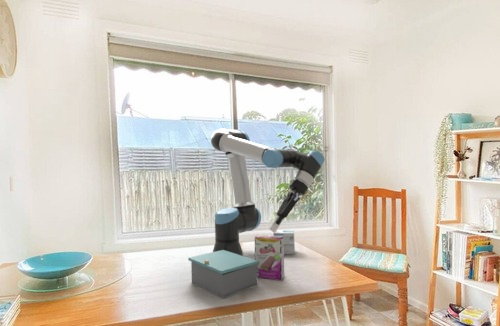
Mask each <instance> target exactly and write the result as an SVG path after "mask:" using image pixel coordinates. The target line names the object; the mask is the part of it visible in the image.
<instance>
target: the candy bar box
mask: <svg viewBox="0 0 500 326" xmlns="http://www.w3.org/2000/svg"><path fill="white" fill-rule="evenodd" d="M254 260H257V261H258V264H257V279H258V278H259V279H267V280H274V281H275V280H276V281H283V279H284V277H285V254H284V237H283V236H273V235H270V234H257V235H256V236H254Z"/></svg>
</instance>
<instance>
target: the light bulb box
mask: <svg viewBox="0 0 500 326" xmlns="http://www.w3.org/2000/svg"><path fill="white" fill-rule="evenodd" d="M294 231H295V230H294V229H292V230H290V229H289V230H287V229H286V230H285V229H284V230H282V229H279V230H278V229H277V230H276V232H275V233H274V232H273V234H272V236H283V237H284V255H295V251H296V250H295V244H296V243H295V232H294Z"/></svg>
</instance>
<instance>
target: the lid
mask: <svg viewBox="0 0 500 326" xmlns="http://www.w3.org/2000/svg"><path fill="white" fill-rule="evenodd" d="M187 258H188V261H189V262H190V263H191V262H194V263H196V264H199V265H201V266H203V267H206V268H208V269H211V270H213V271H215V272H218V273H220V274H224V273H227V272H231V271H234V270H238V269H241V268H244V267H248V266H251V265H255V264H258V261H257V260H255V258H250V257H247V256H244V255H243V256H241V255H238V254H235V253H232V252H229V251H225V250H220V251H216V252H213V251H212V252H208V253H203V254H199V255H194V256H190V257H187Z"/></svg>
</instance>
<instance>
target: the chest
mask: <svg viewBox="0 0 500 326" xmlns="http://www.w3.org/2000/svg"><path fill="white" fill-rule="evenodd" d="M190 264H191V265H190V266H191V283H192V284H194V285H196V286H198V287H200V288H202V289H204V290H206V291H208V292H209V293H212V294H213V295H216V296H218V297H219V298H222V299H227V298H228V297H231V296H234V295H236V294H238V293H241V292H243V291H246V290H248V289H251V288H253V287H256V286H258V278H257V264H255V265H251V266H248V267H244V268H241V269H238V270H234V271H231V272H227V273H224V274H220V273H218V272H215V271H213V270H211V269H208V268H206V267H203V266H201V265H199V264H196V263H194V262H191V261H190Z"/></svg>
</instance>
